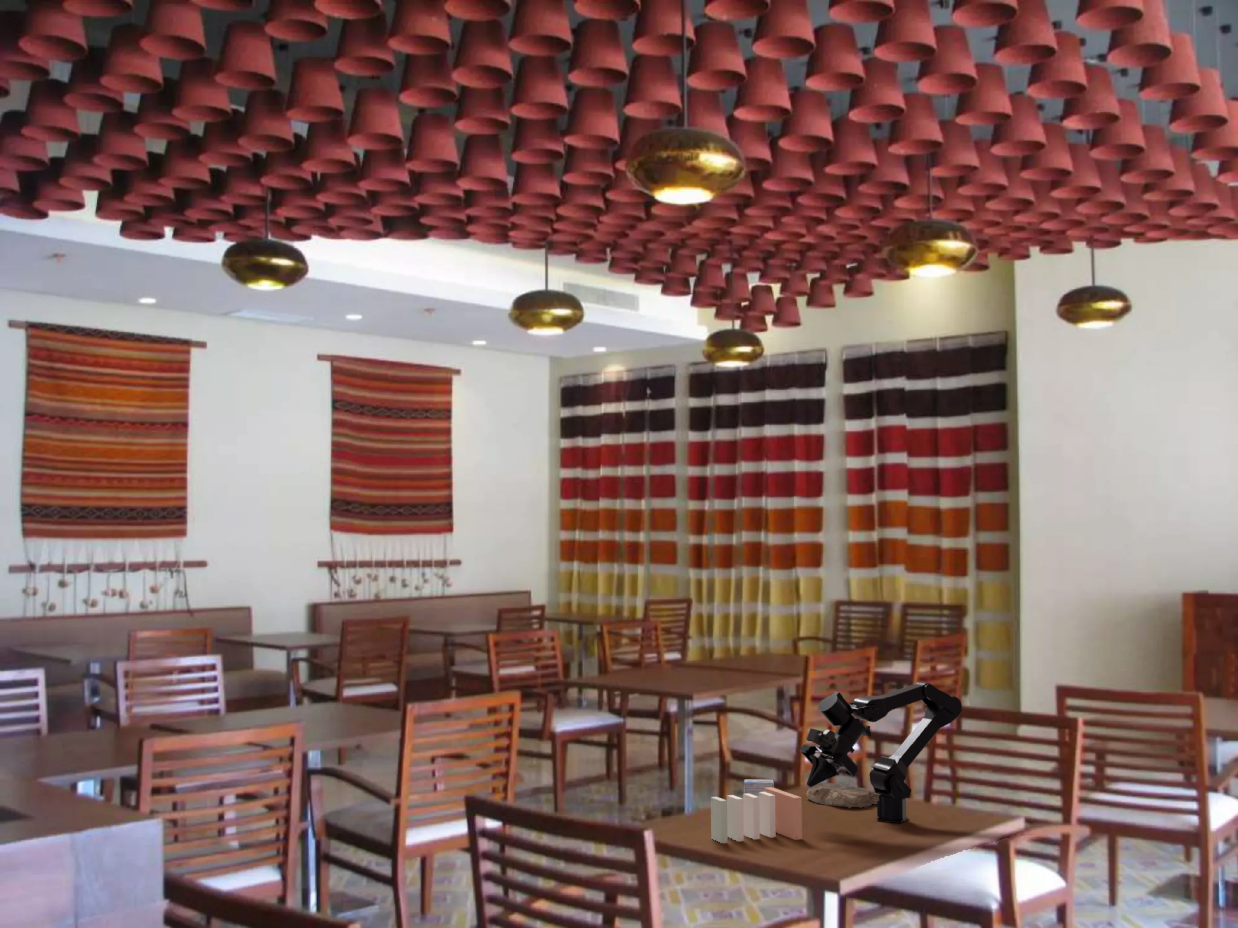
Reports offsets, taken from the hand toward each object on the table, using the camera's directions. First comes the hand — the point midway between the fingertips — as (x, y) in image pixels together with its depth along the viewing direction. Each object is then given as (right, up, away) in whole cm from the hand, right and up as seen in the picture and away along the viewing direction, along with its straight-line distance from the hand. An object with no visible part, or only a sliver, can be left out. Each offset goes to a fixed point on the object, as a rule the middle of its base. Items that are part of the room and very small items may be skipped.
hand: (808, 785), depth 312 cm
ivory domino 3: (-11, -11, -6) cm, 16 cm away
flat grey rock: (+13, -13, +33) cm, 38 cm away
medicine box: (-10, -12, +18) cm, 24 cm away
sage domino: (-23, -10, -11) cm, 28 cm away
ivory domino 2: (-15, -11, -8) cm, 20 cm away
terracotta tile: (-7, -11, -4) cm, 13 cm away
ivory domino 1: (-19, -10, -9) cm, 24 cm away
